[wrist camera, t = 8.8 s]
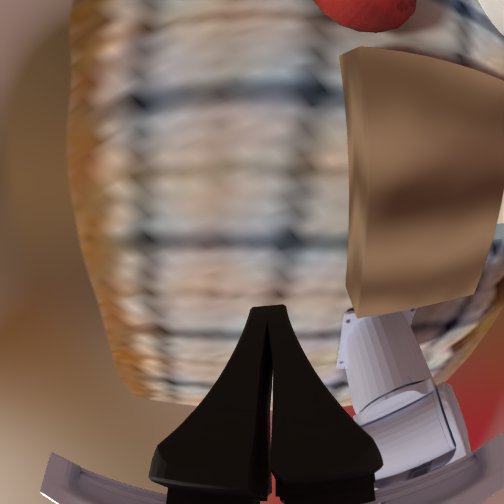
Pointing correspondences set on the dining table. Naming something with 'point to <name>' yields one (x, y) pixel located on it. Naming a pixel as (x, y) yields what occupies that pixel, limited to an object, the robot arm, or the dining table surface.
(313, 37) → the dining table surface
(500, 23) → the base with upright slab
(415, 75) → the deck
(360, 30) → the onion
